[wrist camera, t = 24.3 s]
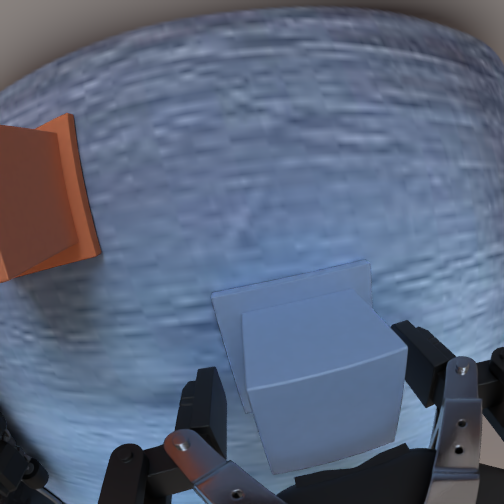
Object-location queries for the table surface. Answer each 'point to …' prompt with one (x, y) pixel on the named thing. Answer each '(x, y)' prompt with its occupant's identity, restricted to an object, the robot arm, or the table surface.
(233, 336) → the slate-blue mat
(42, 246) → the terracotta block
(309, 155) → the table surface
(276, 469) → the slate-blue block
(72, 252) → the terracotta mat
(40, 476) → the toy vehicle
